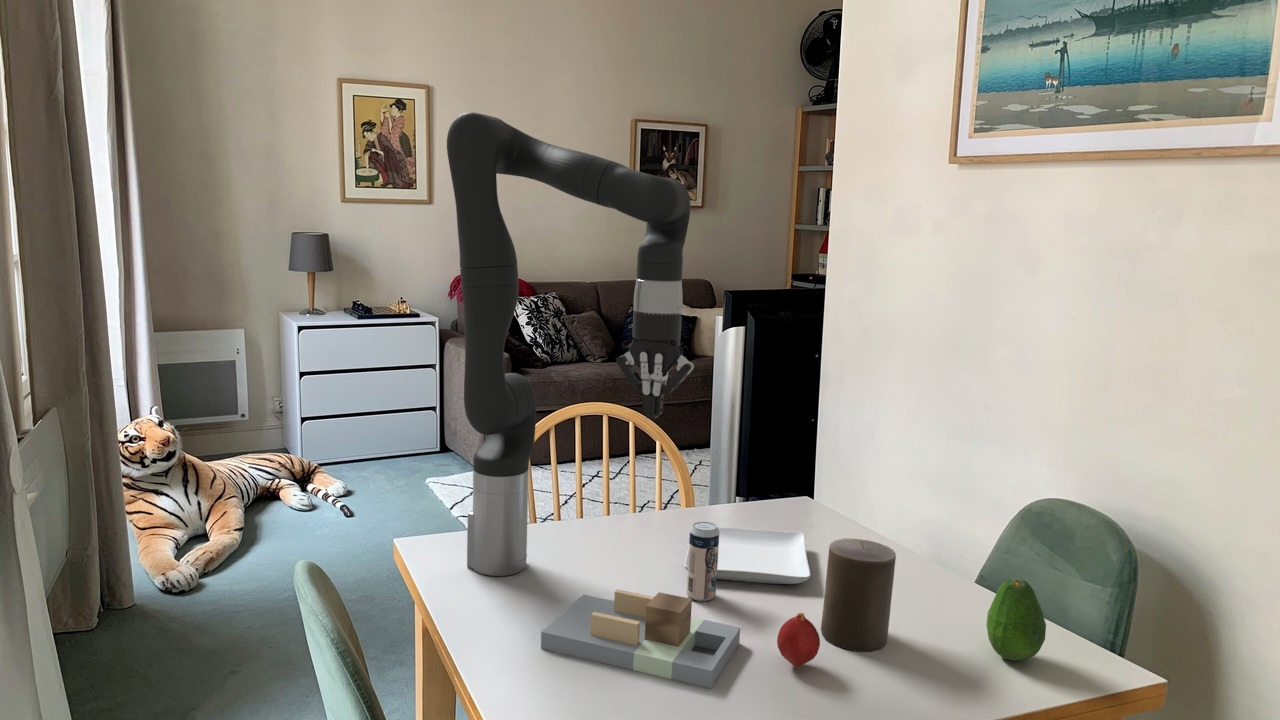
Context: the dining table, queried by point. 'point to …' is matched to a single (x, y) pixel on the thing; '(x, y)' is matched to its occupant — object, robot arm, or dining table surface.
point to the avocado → (1016, 621)
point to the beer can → (703, 561)
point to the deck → (639, 640)
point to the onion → (798, 640)
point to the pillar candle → (858, 594)
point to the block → (668, 619)
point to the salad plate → (761, 556)
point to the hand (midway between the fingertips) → (652, 417)
